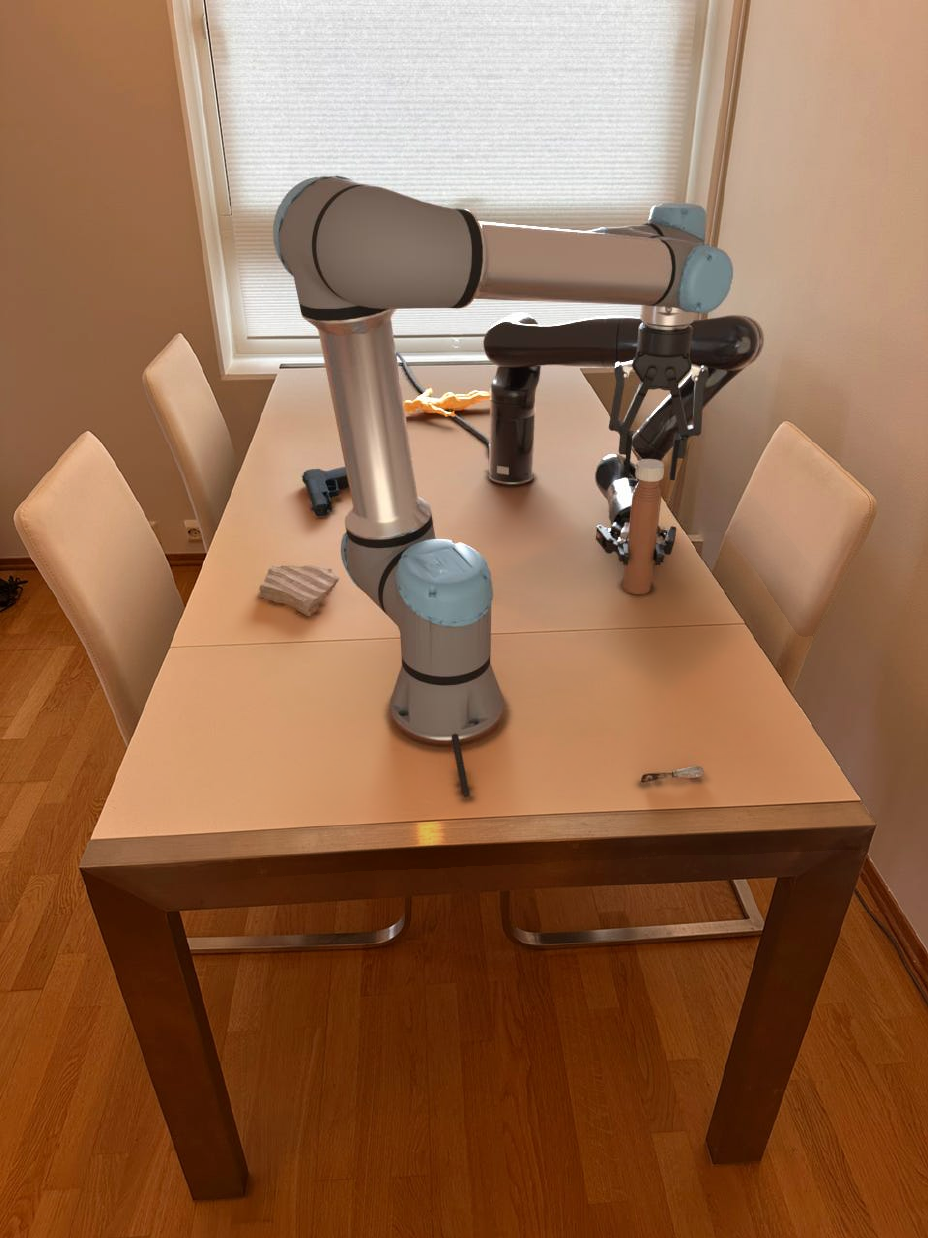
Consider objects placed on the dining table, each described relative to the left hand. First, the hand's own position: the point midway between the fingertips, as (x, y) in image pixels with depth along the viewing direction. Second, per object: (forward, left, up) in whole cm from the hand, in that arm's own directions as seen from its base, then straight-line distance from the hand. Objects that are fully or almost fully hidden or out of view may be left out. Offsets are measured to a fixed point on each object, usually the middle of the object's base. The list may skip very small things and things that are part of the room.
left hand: (649, 474), depth 139 cm
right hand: (-3, 0, -14) cm, 14 cm away
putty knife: (-47, -6, -20) cm, 52 cm away
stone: (-14, +54, -20) cm, 60 cm away
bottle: (0, 0, -20) cm, 20 cm away
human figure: (+81, +50, -20) cm, 98 cm away
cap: (0, 0, +2) cm, 2 cm away
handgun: (+25, +62, -20) cm, 69 cm away
